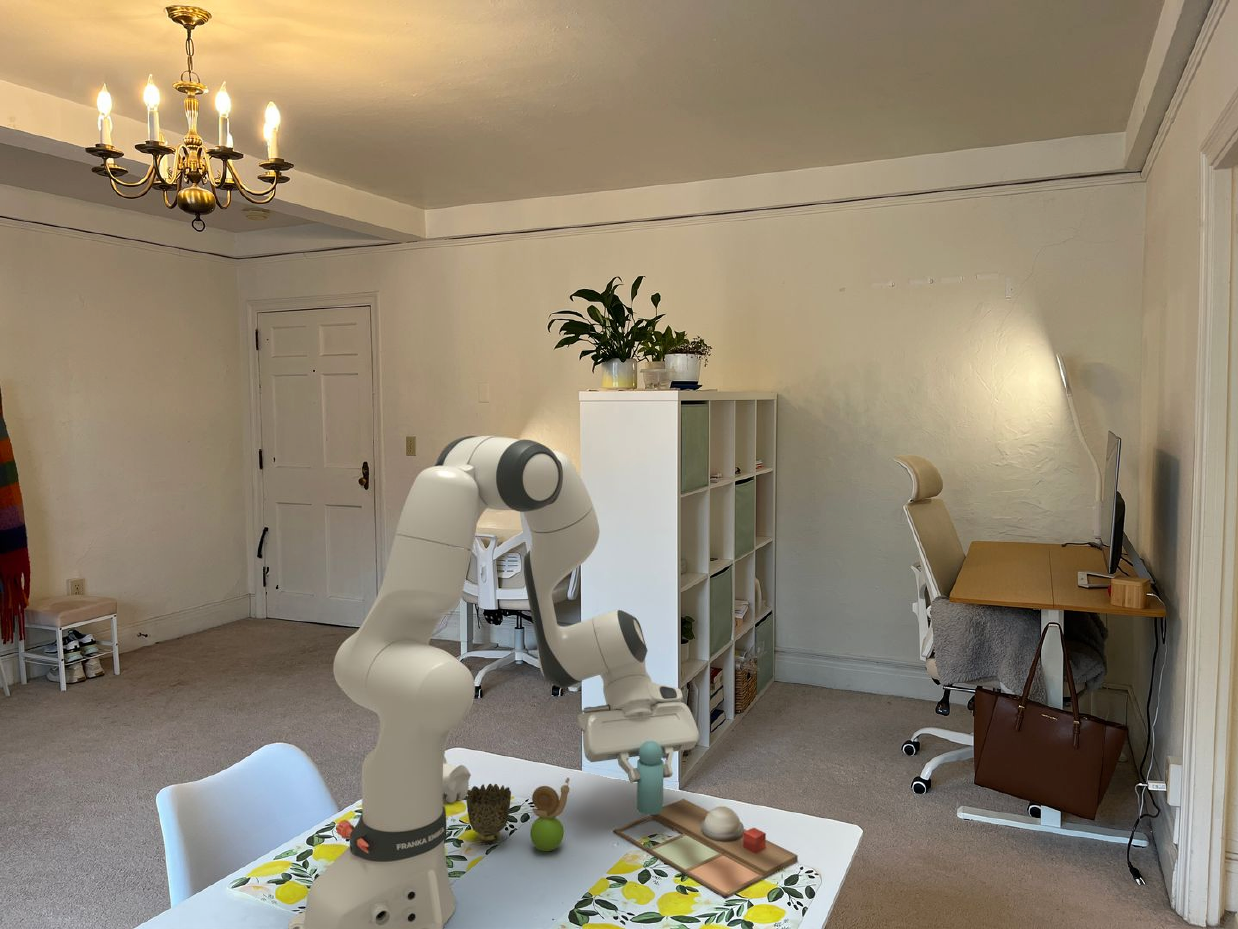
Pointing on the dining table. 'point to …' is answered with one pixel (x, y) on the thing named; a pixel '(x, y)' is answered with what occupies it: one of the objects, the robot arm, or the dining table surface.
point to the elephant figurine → (455, 781)
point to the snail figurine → (548, 817)
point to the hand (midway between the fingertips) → (651, 778)
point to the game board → (714, 847)
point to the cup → (488, 811)
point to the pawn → (650, 779)
